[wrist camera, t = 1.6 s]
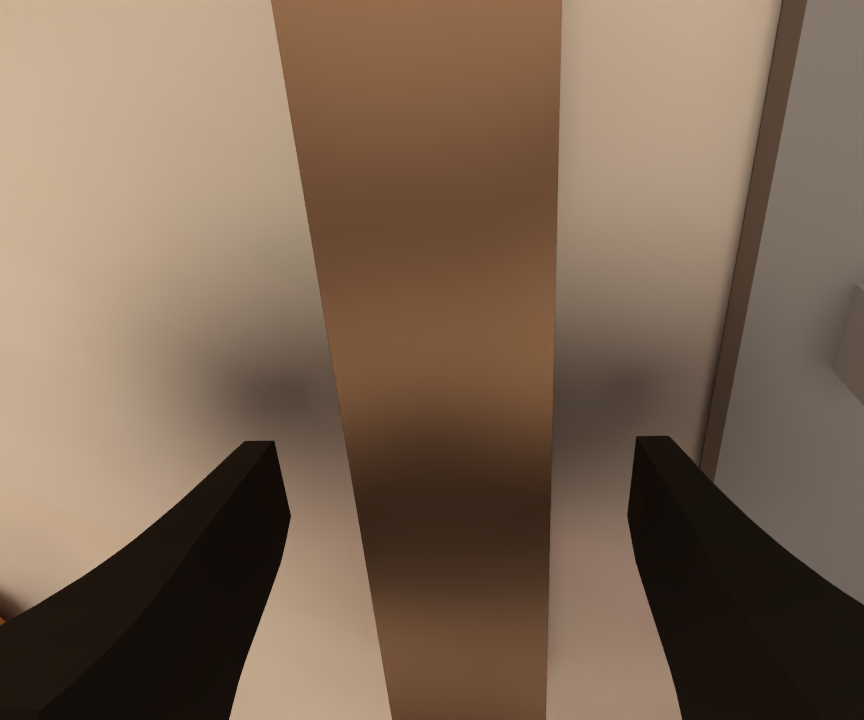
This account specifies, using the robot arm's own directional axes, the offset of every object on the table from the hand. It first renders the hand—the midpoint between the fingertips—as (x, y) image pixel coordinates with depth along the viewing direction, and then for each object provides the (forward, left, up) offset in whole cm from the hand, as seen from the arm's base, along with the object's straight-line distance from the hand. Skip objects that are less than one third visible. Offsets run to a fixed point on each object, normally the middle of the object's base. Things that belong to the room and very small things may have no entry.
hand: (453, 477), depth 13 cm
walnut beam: (0, 0, -4) cm, 4 cm away
